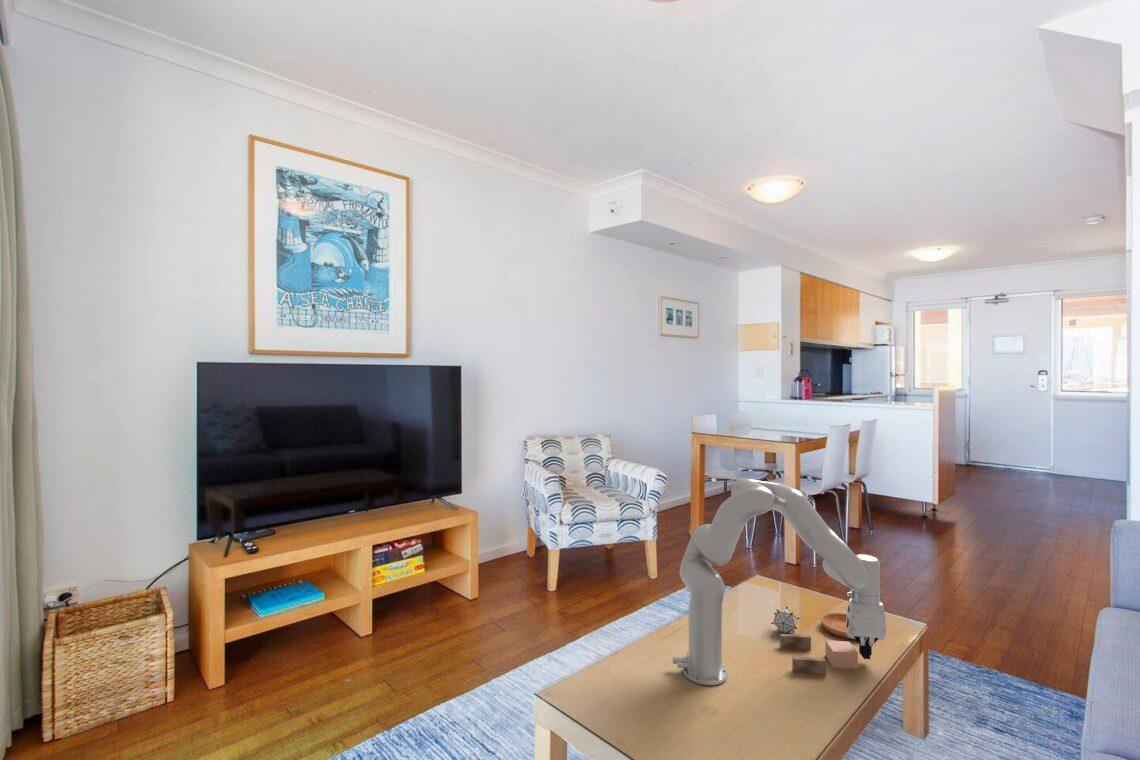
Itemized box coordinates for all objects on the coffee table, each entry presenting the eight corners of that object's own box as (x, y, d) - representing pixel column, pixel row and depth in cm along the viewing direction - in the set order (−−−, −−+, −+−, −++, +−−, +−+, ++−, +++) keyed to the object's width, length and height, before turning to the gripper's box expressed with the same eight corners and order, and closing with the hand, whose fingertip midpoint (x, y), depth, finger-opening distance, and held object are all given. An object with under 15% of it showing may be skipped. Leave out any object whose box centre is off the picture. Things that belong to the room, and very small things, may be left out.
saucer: (860, 621, 198) (861, 613, 198) (881, 643, 182) (881, 634, 182) (814, 619, 200) (814, 611, 200) (830, 641, 184) (830, 632, 184)
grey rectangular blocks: (793, 672, 165) (793, 659, 165) (780, 646, 180) (780, 633, 180) (825, 674, 163) (825, 661, 163) (809, 647, 179) (809, 635, 179)
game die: (791, 645, 189) (806, 628, 183) (767, 635, 189) (782, 619, 183) (788, 622, 196) (802, 605, 191) (765, 613, 196) (779, 596, 191)
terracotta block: (833, 667, 167) (833, 651, 167) (825, 656, 174) (825, 640, 174) (857, 669, 167) (857, 652, 166) (849, 657, 174) (849, 641, 173)
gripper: (844, 600, 167) (843, 661, 167) (897, 603, 165) (897, 665, 165) (835, 591, 174) (835, 649, 174) (886, 593, 172) (886, 652, 172)
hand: (865, 656), depth 170 cm, fingers closed
